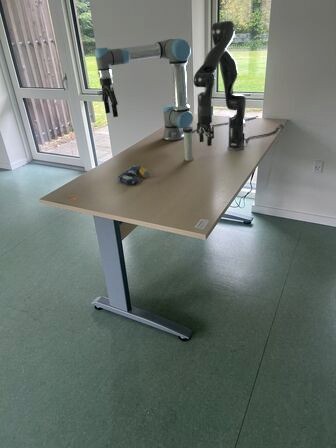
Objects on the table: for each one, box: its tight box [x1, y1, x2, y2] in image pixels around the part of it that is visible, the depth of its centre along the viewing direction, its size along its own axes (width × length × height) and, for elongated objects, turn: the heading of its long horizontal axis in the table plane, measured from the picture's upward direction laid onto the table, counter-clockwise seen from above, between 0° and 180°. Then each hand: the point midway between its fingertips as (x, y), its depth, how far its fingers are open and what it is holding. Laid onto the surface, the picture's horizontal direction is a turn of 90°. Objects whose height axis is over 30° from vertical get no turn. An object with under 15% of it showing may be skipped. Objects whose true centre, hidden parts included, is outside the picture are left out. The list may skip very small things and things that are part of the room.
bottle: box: [183, 132, 194, 162], centre depth 203 cm, size 5×5×19 cm
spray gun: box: [116, 164, 150, 186], centre depth 188 cm, size 21×4×15 cm
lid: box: [182, 126, 194, 133], centre depth 199 cm, size 6×6×2 cm
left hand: (111, 114), depth 206 cm, fingers open, 13 cm apart
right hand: (205, 143), depth 184 cm, fingers open, 8 cm apart
